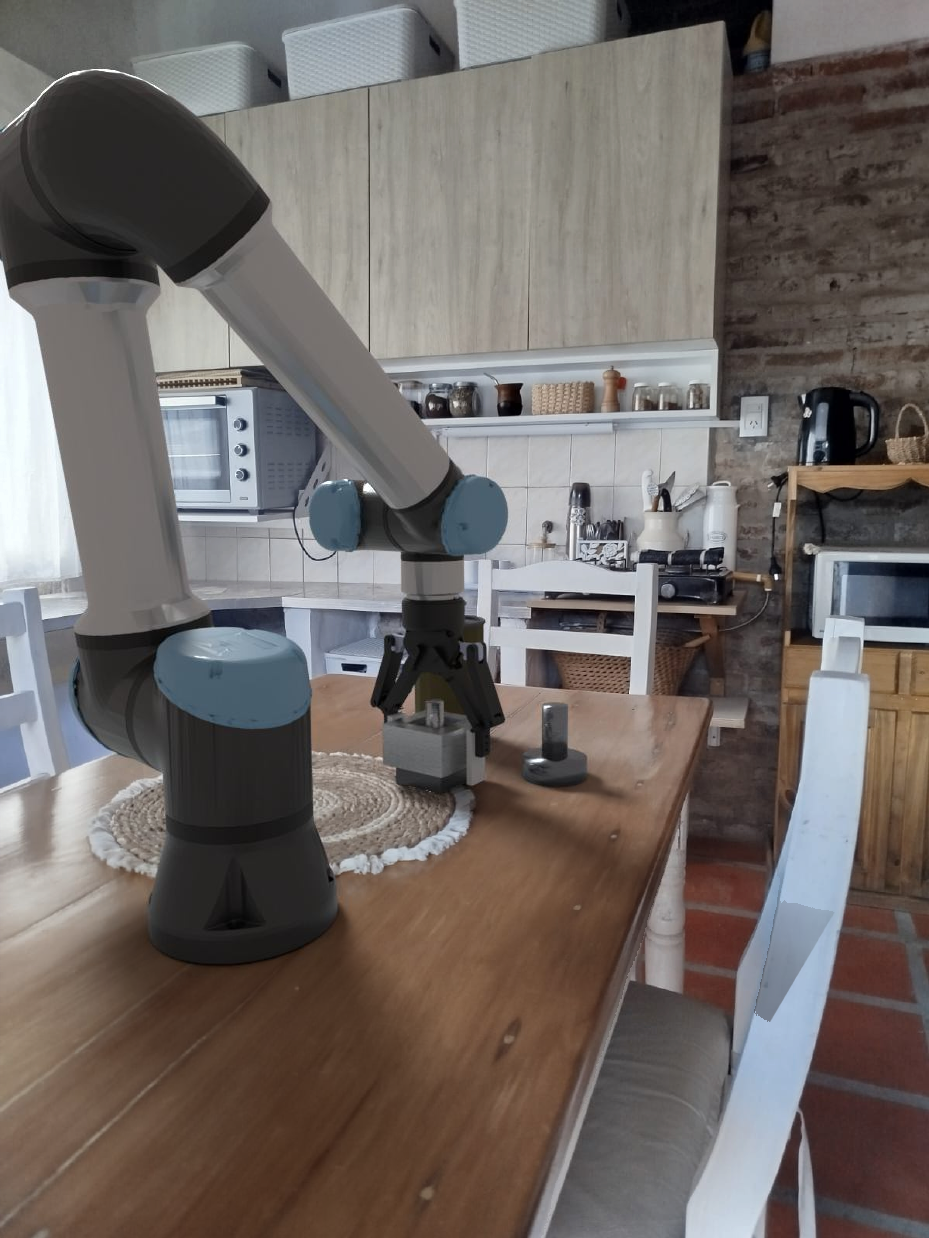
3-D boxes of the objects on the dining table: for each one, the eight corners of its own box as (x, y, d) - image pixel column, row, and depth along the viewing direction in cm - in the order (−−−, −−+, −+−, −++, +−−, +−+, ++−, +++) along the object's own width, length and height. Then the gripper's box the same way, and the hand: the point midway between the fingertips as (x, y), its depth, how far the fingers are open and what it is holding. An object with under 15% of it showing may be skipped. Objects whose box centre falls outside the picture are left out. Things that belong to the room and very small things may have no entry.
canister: (488, 729, 127) (488, 597, 124) (483, 749, 116) (482, 605, 114) (416, 728, 128) (414, 596, 125) (405, 747, 117) (402, 605, 115)
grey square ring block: (442, 777, 97) (441, 735, 96) (383, 764, 102) (382, 724, 101) (486, 758, 104) (486, 718, 103) (429, 746, 109) (428, 708, 109)
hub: (567, 790, 99) (567, 716, 98) (510, 778, 104) (510, 707, 103) (598, 773, 106) (599, 703, 105) (543, 762, 111) (543, 695, 109)
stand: (440, 794, 99) (439, 710, 97) (396, 783, 103) (394, 703, 101) (474, 778, 104) (473, 699, 103) (430, 768, 108) (429, 692, 107)
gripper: (535, 598, 96) (534, 782, 99) (378, 587, 110) (382, 749, 113) (499, 605, 90) (499, 801, 93) (338, 593, 104) (343, 763, 107)
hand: (435, 772), depth 103 cm, fingers open, 11 cm apart
